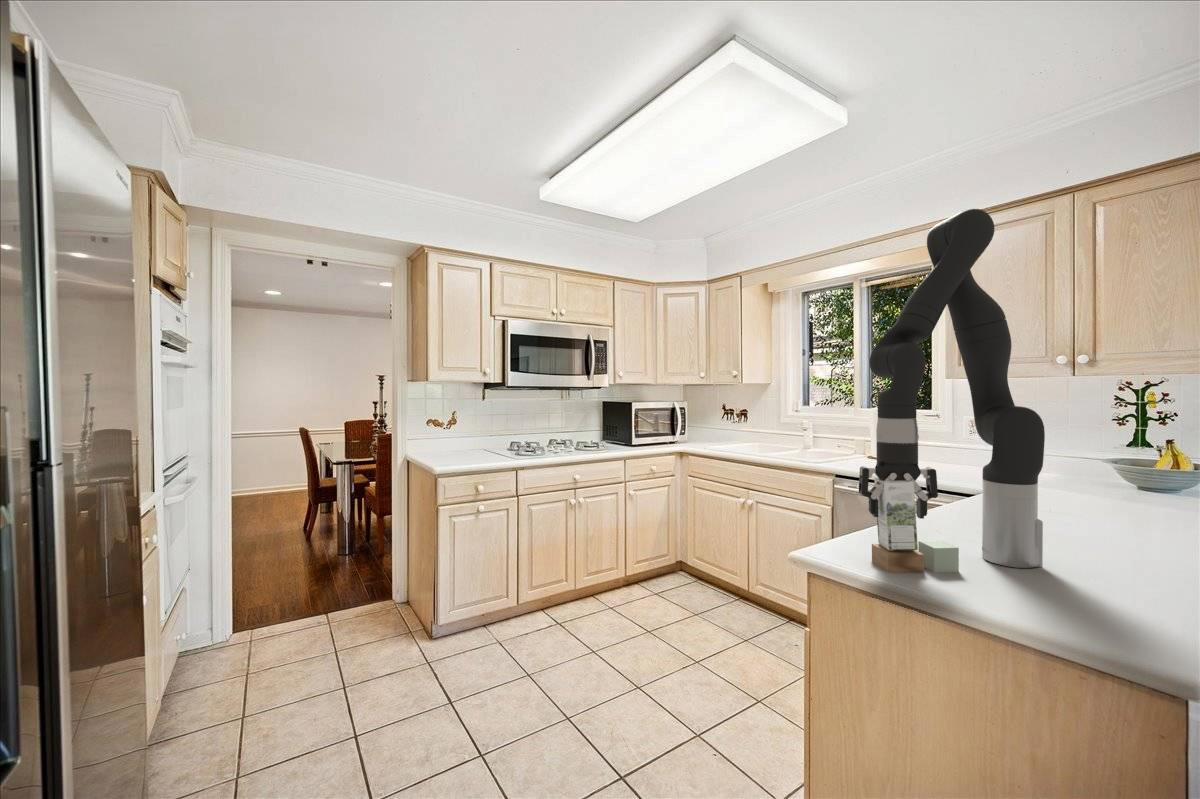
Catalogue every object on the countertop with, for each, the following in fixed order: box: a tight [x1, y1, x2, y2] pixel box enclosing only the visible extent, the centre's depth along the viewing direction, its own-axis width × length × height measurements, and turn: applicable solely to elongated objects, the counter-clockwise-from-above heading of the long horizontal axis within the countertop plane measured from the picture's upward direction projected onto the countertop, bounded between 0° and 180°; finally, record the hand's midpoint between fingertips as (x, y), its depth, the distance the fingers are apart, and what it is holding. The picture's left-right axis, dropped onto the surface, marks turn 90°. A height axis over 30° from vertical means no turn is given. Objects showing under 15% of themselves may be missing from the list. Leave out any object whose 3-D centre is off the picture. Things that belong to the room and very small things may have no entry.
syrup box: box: [873, 477, 919, 551], centre depth 108 cm, size 6×6×14 cm
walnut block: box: [871, 543, 925, 574], centre depth 107 cm, size 7×7×4 cm
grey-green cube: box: [917, 540, 960, 573], centre depth 106 cm, size 5×5×5 cm
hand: (897, 517), depth 107 cm, fingers open, 8 cm apart
